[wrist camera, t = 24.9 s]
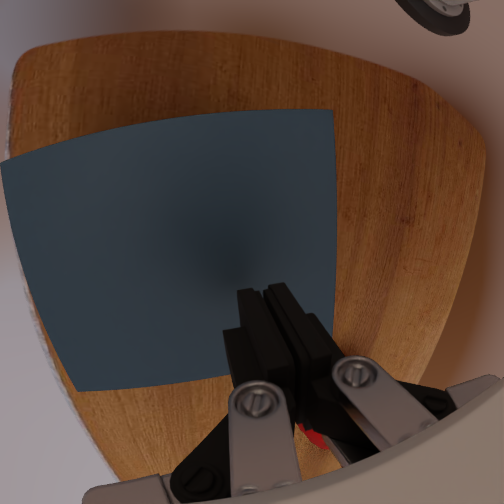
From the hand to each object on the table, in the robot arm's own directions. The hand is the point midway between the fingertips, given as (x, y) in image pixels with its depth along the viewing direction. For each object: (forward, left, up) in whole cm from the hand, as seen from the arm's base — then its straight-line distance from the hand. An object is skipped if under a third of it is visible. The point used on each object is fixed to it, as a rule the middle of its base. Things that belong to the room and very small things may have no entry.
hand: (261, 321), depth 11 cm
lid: (-1, -3, -4) cm, 5 cm away
